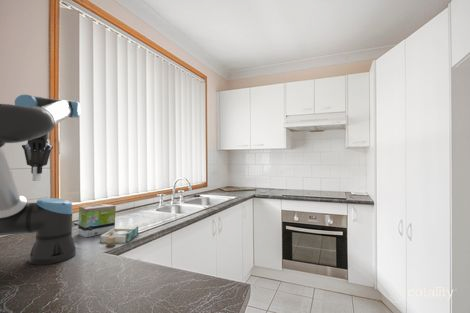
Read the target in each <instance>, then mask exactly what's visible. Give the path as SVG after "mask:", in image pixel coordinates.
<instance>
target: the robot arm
mask: <svg viewBox="0 0 470 313" xmlns="http://www.w3.org/2000/svg"><path fill="white" fill-rule="evenodd" d="M80 116H81V104H80V102H79V101H76V100H67V99H56V98H54V99H53V98H46V97H42V96H32V95H30V94H20V95H18V96H17V97H16V98H15V99H14V104H10V103H9V104H8V103H0V236H1V237H3V236H9V235H10V236H12V235H22V234H35V241H34V244H33V246H32V248H31V251H30V253H29V256H28V263H29V264H30V265H38V266H39V265H41V266H43V265H51V264H56V263H60V262H63V261H66V260H69V259H71V258H73V257H74V256H76V253H77V246H76V244H75V241H74V238H73V236H72V231H73V229H72V228H73V213H74V211H73V203H72V202H71V201H70V200H67V199H63V198H54V197H53V198H52V197H50V198H48V197H47V198H44V197H43V198H39V199H37V201H36V202H28V201H27V198H26V197H25V196H24V195H22V194H20V193H19V191H18V188H17V186H16V182H15V179H14V177H13V174H12V172H11V171H12V170H11V169H10V166H9V162H8V161H7V160H8V159H7V157H6V154H5V152H4V149H3V148H4V146H5V145H6V144H18V143H22V142H27V143H26V144H22V145H21V148H22V150H23V152H24V156H25V162H26V165H27V166H30V169H31V171H30V172H31V174H32V179H31V180H32V182H38V181H41V175H42V174H43V167H44V166H47V165H48V163H49V162H48V161H49V159H50V154H51V152H52V149H53V148H54V145H50V144H49V142H48V139H49V133H51V131H53V129H54V128H55V126H56V125H58V124H59V123H60V122H63V121H65V120H66V119H67V118H72V119H74V118H77V119H78V118H79V117H80Z"/></svg>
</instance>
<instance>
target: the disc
mask: <svg viewBox="0 0 470 313" xmlns="http://www.w3.org/2000/svg"><path fill="white" fill-rule="evenodd" d="M127 233H128V232H127V231H118V232H114V233H113V236H127Z"/></svg>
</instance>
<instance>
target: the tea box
mask: <svg viewBox="0 0 470 313" xmlns="http://www.w3.org/2000/svg"><path fill="white" fill-rule="evenodd" d="M116 208H117V205H114V204H109V203H101V204H94V205H93V204H92V205H84V206H79V208H78V221H77V224H78V225H77V226H78V227H77V235H79V236H81V237H83V238H90V237H93V236H98V235H99V236H101V235H103V234H105V233H106V232H108V231H110V230H112V229H113V228H116V227H115V226H116Z"/></svg>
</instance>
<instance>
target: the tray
mask: <svg viewBox="0 0 470 313" xmlns="http://www.w3.org/2000/svg"><path fill="white" fill-rule="evenodd" d="M114 232H118V231H113V232H112V233H110V234H108V235H107V236H113V233H114ZM127 232H128V233H127V236H126V242H125V243H129V242H130V241H131V240H133V239H134V238H135V237H136V236H138V235H139V226H135V227H134V228H133V230H131V231H127Z"/></svg>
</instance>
